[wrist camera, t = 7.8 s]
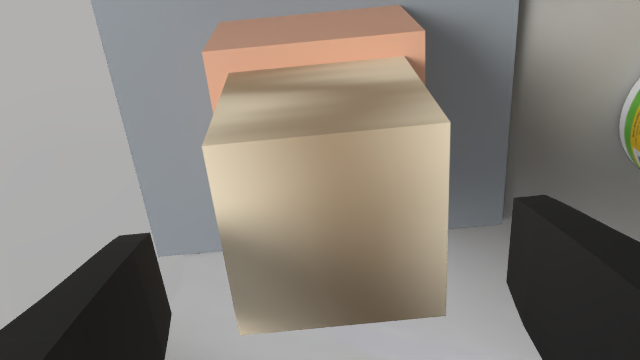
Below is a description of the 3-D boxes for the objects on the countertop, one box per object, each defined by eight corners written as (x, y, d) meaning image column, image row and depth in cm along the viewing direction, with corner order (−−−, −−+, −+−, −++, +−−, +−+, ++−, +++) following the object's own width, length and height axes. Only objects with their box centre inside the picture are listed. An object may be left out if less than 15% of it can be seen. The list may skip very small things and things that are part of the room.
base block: (245, 182, 21) (236, 239, 18) (219, 21, 18) (201, 52, 15) (402, 167, 21) (424, 221, 18) (399, 4, 18) (425, 30, 15)
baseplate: (161, 248, 23) (158, 256, 22) (80, -67, 18) (73, -66, 17) (497, 216, 23) (502, 223, 22) (520, -109, 18) (527, -109, 17)
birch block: (253, 222, 17) (239, 335, 13) (229, 72, 15) (201, 146, 11) (406, 207, 17) (446, 315, 13) (404, 55, 15) (450, 122, 11)
